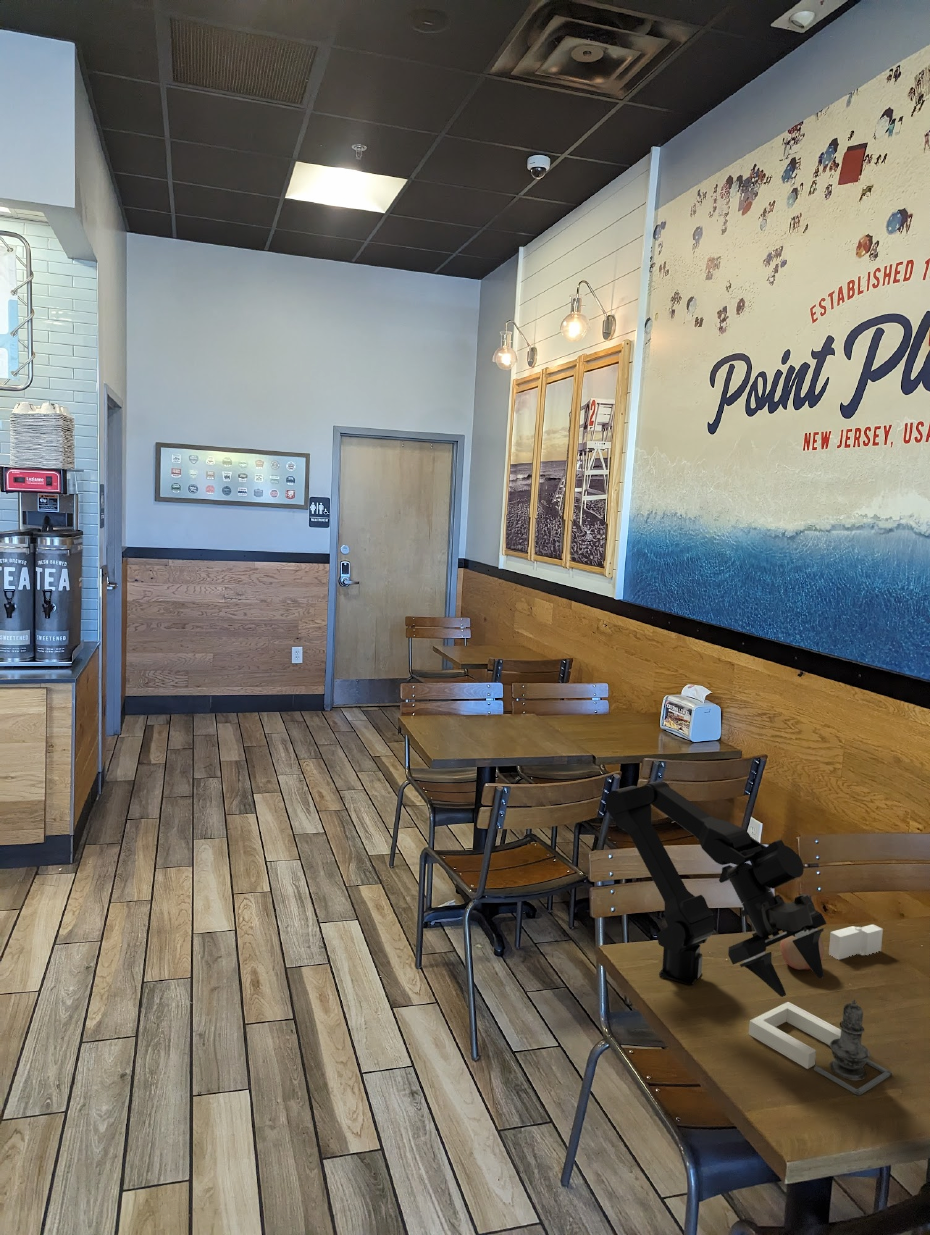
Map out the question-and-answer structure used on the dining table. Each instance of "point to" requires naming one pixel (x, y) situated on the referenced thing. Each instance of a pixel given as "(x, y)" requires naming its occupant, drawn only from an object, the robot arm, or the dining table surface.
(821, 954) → the fruit
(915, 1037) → the dining table surface
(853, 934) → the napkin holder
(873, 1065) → the frame
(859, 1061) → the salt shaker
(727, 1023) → the dining table surface
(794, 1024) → the u-shaped bracket
